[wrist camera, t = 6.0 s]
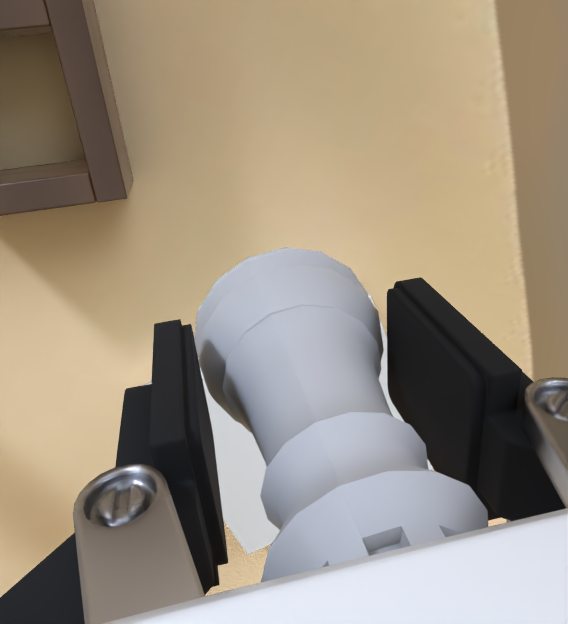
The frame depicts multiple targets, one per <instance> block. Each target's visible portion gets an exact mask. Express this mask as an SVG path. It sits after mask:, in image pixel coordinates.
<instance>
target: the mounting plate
mask: <svg viewBox="0 0 568 624" xmlns="http://www.w3.org/2000/svg"><path fill="white" fill-rule="evenodd" d="M365 291H366V290H365ZM366 292H367V291H366ZM367 293H368V292H367ZM368 297H369V299H370V301H371V302H372V303H373V305H374V302H373V300H372V297H371V296H370V295H369V294H368ZM374 306H375V305H374ZM379 320H380V318H379ZM380 327H381V334H382V341H383V348H384V352H383V355H382V359H381V362H380V363H381V372H380V376H379V382H380V384H381V387H382V390H383V392H384V395H385V398H386V400H387V403H388V406H389V408H390V411H391V413H392V415H393V416H394V418H396V419H399V420H401V421H403V419H402V417H401V416H400V414H399V413H398V411H397V409H396V408H395V406H394V405H393V403H392V401H391V399H390V396H389V393H388V386H387V336H386V334H385V331H384V328H383V326H382V323H381V321H380ZM200 370H201V368H200ZM201 375H202V380H203V385H204V390H205V395H206V400H207V405H208V410H209V415H210V420H211V425H212V431H213V438H214V446H215V455H216V463H217V472H218V480H219V488H220V497H221V505H222V514H223V520H224V522H225V523H226V525H227V526H228V527H229V529H230V530H231V532H232V533H233V534H234V536H235V537H236V539H237V540H238V541H239V543H240V544H241V546H242V547H243V548H244V550H245V551H246V553H247V554H248V555H249V554H251V553H253V552H255V551H257V550H260V549H262V548H264V547H266V546H268V545H270V544H272V543H273V541H274V539H275V538H276V536H277V535H278V533H279V531H280V530H279V529H278V528H277V527H276V526H275V525H273V524H272V523H271V522H270V521H269V520H268V519H267V516H266V512H265V509H264V506H263V503H262V500H261V497H260V494H261V490H262V485H263V480H264V476H265V471H266V468H267V466H266V463H265V461H264V458H263V456H262V454H261V452H260V450H259V447H258V445H257V443H256V441H255V438H254V436H253V434H252V433H251V432H249V431H248V430H247V429H246V428H245V427H244V426H243V425H242V424H241V423H239V422H236V421H235V420H234V419H233V418H232V417H231V416H230V415H229V414H228V413H227V412H226V411H225V410H224V409H223V408H222V407H221V406H220V405H219V404H218V403H217V402H216V401H215V400H214V399H213V398H212V396H211V395H210V393H209V392H208V389H207V386H206V383H205V380H204V377H203V374H202V371H201ZM148 384H152V382H150V383H148ZM148 384H146V385H148ZM403 422H404V421H403ZM427 462H428V470H432V469H434V468H433V467H432V465H431V464H430V462H429V460H428V459H427Z"/></svg>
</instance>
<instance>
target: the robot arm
mask: <svg viewBox="0 0 568 624" xmlns="http://www.w3.org/2000/svg"><path fill="white" fill-rule="evenodd" d="M387 386H388V393H389V396H390V399H391V401H392V403H393V405H394V406H395V408H396V409H397V411H398V413H399V414H400V416H401V417H402V419H403V421H404V422H405V423H407V424H410V425H411V426H412V427H413V429H414V430H415V431H416V433H417V434H418V435H419V437H420V438H421V439H422V441H423V442H424V443H425V445H426V452H427V459H428V460H429V462H430V464H431V465H432V467H433V468H434V470H435V471H436V472H438V473H440V474H443V475H445V476H448V477H450V478H452V479H455V480H457V481H460V482H462V483H464V484H467V485H469V486H470V487H471V489H472V490H473V491H474V493H475V494H476V495H477V497H478V498H479V499H480V501H481V502H482V504H483V505H484V506H485V508H486V509H487V510H488V520H492V519H496V518H500V517H502V518H505V519H507V521H506V522H507V523H503V524H499V525H495V526H490V527H486V528H482V529H478V530H474V531H470V532H465V533H461V534H457V535H453V536H449V537H445V538H441V539H436V540H432V541H428V542H424V543H420V544H416V545H412V546H408V547H403V548H399V549H395V550H391V551H387V552H383V553H379V554H375V555H370V556H366V557H362V558H358V559H354V560H350V561H346V562H342V563H338V564H334V565H330V566H326V567H322V568H318V569H314V570H310V571H306V572H301V573H297V574H293V575H289V576H285V577H281V578H277V579H273V580H269V581H265V582H261V583H257V584H253V585H249V586H245V587H241V588H237V589H233V590H229V591H225V592H221V593H217V594H213V595H209V596H205V594H206V593H207V592H208V591H209V589H210V588H211V587H213V586H217V585H219V576H218V565H222V564H226V563H228V556H227V547H226V539H225V531H224V522H223V514H222V505H221V497H220V488H219V480H218V472H217V463H216V455H215V446H214V438H213V431H212V425H211V420H210V415H209V410H208V405H207V400H206V395H205V390H204V385H203V380H202V375H201V370H200V365H199V360H198V356H197V351H196V346H195V341H194V336H193V331H192V326H191V324H188V325H183V326H182V324H181V321H180V319H179V320H173V321H168V322H162V323H156V324H154V343H153V365H152V384H148V385H143V386H138V387H132V388H127V389H126V390H125V394H124V401H123V410H122V418H121V426H120V434H119V443H118V451H117V459H116V467H115V468H113V469H111V470H109V471H106V472H104V473H102V474H100V475H99V476H98V477H96V478H95V479H93V480H92V481H91V482H89V483H88V484H87V485H86V487H85V488H84V489H83V490H82V491H81V492H80V494H79V496H78V498H77V500H76V501H75V503H74V511H73V519H74V528H75V533H74V534H73V535H71V536H70V537H69V538H68V539H67V540H66V541H65V542H63V543H62V544H61V545H60V546H59V547H58V548H57V549H55V550H54V551H53V552H52V553H51V554H50V555H49V556H47V557H46V558H45V559H44V560H43V561H42V562H41V563H39V564H38V565H37V566H36V567H35V568H34V569H33V570H31V571H30V572H29V573H28V574H27V575H26V576H25V577H23V578H22V579H21V580H20V581H19V582H18V583H17V584H15V585H14V586H13V587H12V588H11V589H10V590H9V591H7V592H6V593H5V594H4V595H3V596H2V597H0V624H568V378H546V379H540V380H538V381H535V382H533V381H532V380H531V379H530V378H529V377H528V376H526V375H525V374H524V373H523V372H522V369H520V368H519V367H518V366H517V365H516V364H515V363H514V362H513V361H512V360H511V359H510V358H508V357H507V356H506V355H505V354H504V353H503V352H502V351H501V350H500V349H499V348H498V347H496V346H495V345H494V344H493V343H492V342H491V341H490V340H489V339H488V338H487V337H486V336H485V335H483V334H482V333H481V332H480V331H479V330H478V329H477V328H476V327H475V326H474V325H473V324H471V323H470V322H469V321H468V320H467V319H466V318H465V317H464V316H463V315H462V314H461V313H459V312H458V311H457V310H456V309H455V308H454V307H453V306H452V305H451V304H450V303H449V302H447V301H446V300H445V299H444V298H443V297H442V296H441V295H440V294H439V293H438V292H437V291H436V290H434V289H433V288H432V287H431V286H430V285H429V284H428V283H427V282H426V281H425V280H424V279H422V278H415V279H409V280H403V281H398V282H396V283H395V285H394V288H393V289H389V290H388V292H387Z"/></svg>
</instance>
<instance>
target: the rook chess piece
mask: <svg viewBox="0 0 568 624" xmlns="http://www.w3.org/2000/svg"><path fill="white" fill-rule="evenodd" d="M194 341H195V346H196V351H197V355H198V358H199V365H200V368H201V371H202V374H203V377H204V380H205V383H206V386H207V389H208V392H209V393H210V395H211V396H212V398H213V399H214V400H215V401H216V402H217V403H218V404H219V405H220V406H221V407H222V408H223V409H224V410H225V411H226V412H227V413H228V414H229V415H230V416H231V417H232V418H233V419H234V420H235V421H236V422H239V423H241V424H242V425H243V426H244V427H245V428H246V429H247V430H248V431H249V432H251V433H252V434H253V436H254V438H255V441H256V443H257V445H258V447H259V450H260V452H261V454H262V456H263V458H264V461H265V463H266V466H267V468H266V471H265V476H264V480H263V485H262V490H261V494H260V497H261V500H262V503H263V506H264V509H265V512H266V516H267V519H268V520H269V521H270V522H271V523H272V524H273V525H275V526H276V527H277V528H278V529H279V530H280V531H279V533H278V535H277V536H276V538H275V539H274V541H273V543H272V544H271V546H270V548H269V550H268V554H267V559H266V563H265V567H264V571H263V576H262V580H261V582H265V581H269V580H273V579H277V578H281V577H285V576H289V575H293V574H297V573H301V572H306V571H310V570H314V569H318V568H322V567H326V566H330V565H334V564H338V563H342V562H346V561H350V560H354V559H358V558H362V557H366V556H370V555H375V554H379V553H383V552H387V551H391V550H395V549H399V548H403V547H408V546H412V545H416V544H420V543H424V542H428V541H432V540H436V539H441V538H445V537H449V536H453V535H457V534H461V533H465V532H470V531H474V530H478V529H482V528H486V527H488V510H487V509H486V508H485V506H484V505H483V504H482V502H481V501H480V499H479V498H478V497H477V495H476V494H475V493H474V491H473V490H472V489H471V487H470V486H469V485H467V484H464V483H462V482H460V481H457V480H455V479H452V478H450V477H448V476H445V475H443V474H440V473H438V472H436V471H433V470H428V462H427V452H426V445H425V443H424V442H423V441H422V439H421V438H420V437H419V435H418V434H417V433H416V431H415V430H414V429H413V427H412V426H411V425H410V424H407V423H405V422H403V421H401V420H399V419H396V418H394V416H393V415H392V413H391V411H390V408H389V406H388V403H387V400H386V398H385V395H384V392H383V390H382V387H381V384H380V382H379V376H380V372H381V363H380V362H381V359H382V355H383V352H384V348H383V341H382V334H381V327H380V320H379V314H378V311H377V309H376V308H375V306H374V305H373V303H372V302H371V301H370V299H369V297H368V293H367V292H366V291H365V289H364V288H363V286H362V285H361V283H360V282H359V280H358V279H357V277H356V276H355V275H354V273H353V272H352V270H351V269H350V268H349V267H347V266H345V265H343V264H342V263H340V262H338V261H336V260H335V259H333V258H331V257H329V256H328V255H326V254H324V253H322V252H319V251H310V250H302V249H293V248H281V249H278V250H274V251H270V252H267V253H263V254H259V255H256V256H252V257H248V258H246V259H245V260H244V261H242V262H241V263H240V264H238V265H237V266H235V267H234V268H233V269H231V270H230V271H229V272H227V273H226V274H225V275H223V276H222V277H220V278H219V279H218V280H216V282H215V284H214V285H213V287H212V289H211V290H210V292H209V293H208V295H207V297H206V298H205V300H204V302H203V303H202V305H201V307H200V308H199V310H198V313H197V321H196V329H195V337H194Z"/></svg>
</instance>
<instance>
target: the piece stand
mask: <svg viewBox="0 0 568 624" xmlns="http://www.w3.org/2000/svg"><path fill="white" fill-rule="evenodd" d="M48 32H53V34H54V38H55V42H56V46H57V50H58V54H59V58H60V61H61V65H62V69H63V73H64V77H65V81H66V85H67V89H68V92H69V96H70V100H71V104H72V108H73V112H74V116H75V120H76V123H77V127H78V131H79V135H80V139H81V143H82V147H83V151H84V154H85V158H86V160H78V161H70V162H62V163H55V164H47V165H39V166H31V167H24V168H16V169H8V170H0V216H3V215H10V214H17V213H24V212H32V211H39V210H46V209H53V208H60V207H68V206H75V205H82V204H89V203H95V202H96V201H97V202H105V201H112V200H120V199H126V198H127V197H128V194H129V191H130V188H131V185H132V182H133V177H132V172H131V168H130V163H129V159H128V154H127V150H126V145H125V141H124V136H123V132H122V127H121V123H120V118H119V114H118V109H117V105H116V100H115V96H114V91H113V87H112V82H111V78H110V73H109V69H108V65H107V60H106V56H105V51H104V47H103V42H102V38H101V33H100V29H99V24H98V20H97V15H96V11H95V6H94V2H93V0H0V37H8V36H18V35H28V34H38V33H48Z"/></svg>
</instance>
